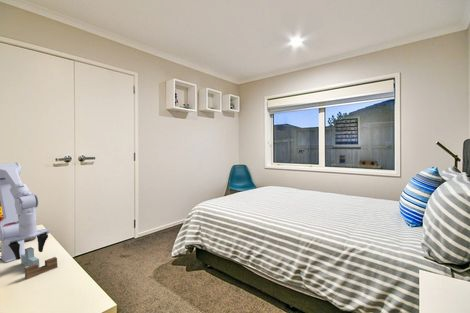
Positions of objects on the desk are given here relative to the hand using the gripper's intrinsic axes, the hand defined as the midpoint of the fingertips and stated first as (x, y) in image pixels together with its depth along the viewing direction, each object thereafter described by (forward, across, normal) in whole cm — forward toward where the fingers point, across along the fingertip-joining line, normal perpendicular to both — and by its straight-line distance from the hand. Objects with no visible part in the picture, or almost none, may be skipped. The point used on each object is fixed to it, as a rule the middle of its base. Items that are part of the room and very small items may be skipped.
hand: (29, 255), depth 99 cm
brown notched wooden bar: (+5, 0, -11) cm, 12 cm away
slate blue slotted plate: (+5, 0, 0) cm, 5 cm away
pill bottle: (+5, +12, +37) cm, 39 cm away
